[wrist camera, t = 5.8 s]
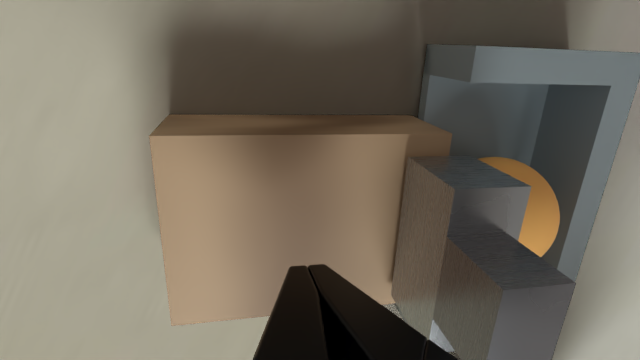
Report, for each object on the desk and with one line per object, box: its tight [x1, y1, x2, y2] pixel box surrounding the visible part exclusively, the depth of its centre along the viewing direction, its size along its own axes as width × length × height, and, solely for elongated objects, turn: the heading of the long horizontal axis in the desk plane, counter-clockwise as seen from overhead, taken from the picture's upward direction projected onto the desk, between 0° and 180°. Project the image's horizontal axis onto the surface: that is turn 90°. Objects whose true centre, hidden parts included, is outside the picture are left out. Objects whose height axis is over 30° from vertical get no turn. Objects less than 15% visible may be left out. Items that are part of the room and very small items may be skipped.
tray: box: [394, 44, 640, 324], centre depth 14 cm, size 6×11×3 cm, turn 178°
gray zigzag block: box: [391, 155, 576, 360], centre depth 10 cm, size 2×5×5 cm, turn 178°
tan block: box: [149, 115, 452, 326], centre depth 13 cm, size 8×6×3 cm
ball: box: [478, 157, 560, 257], centre depth 13 cm, size 4×4×4 cm
